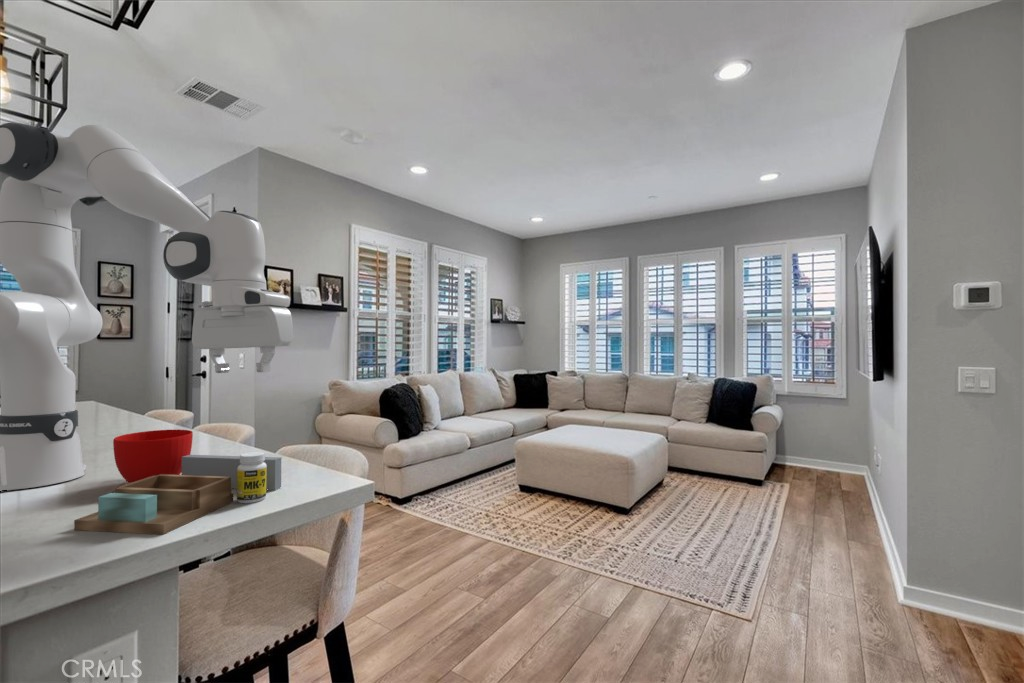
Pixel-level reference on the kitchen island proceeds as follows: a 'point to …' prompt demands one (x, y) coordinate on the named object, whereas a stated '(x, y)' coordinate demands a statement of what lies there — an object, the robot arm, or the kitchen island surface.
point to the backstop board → (229, 468)
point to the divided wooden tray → (158, 504)
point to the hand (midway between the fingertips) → (242, 372)
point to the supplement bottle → (251, 477)
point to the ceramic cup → (151, 453)
